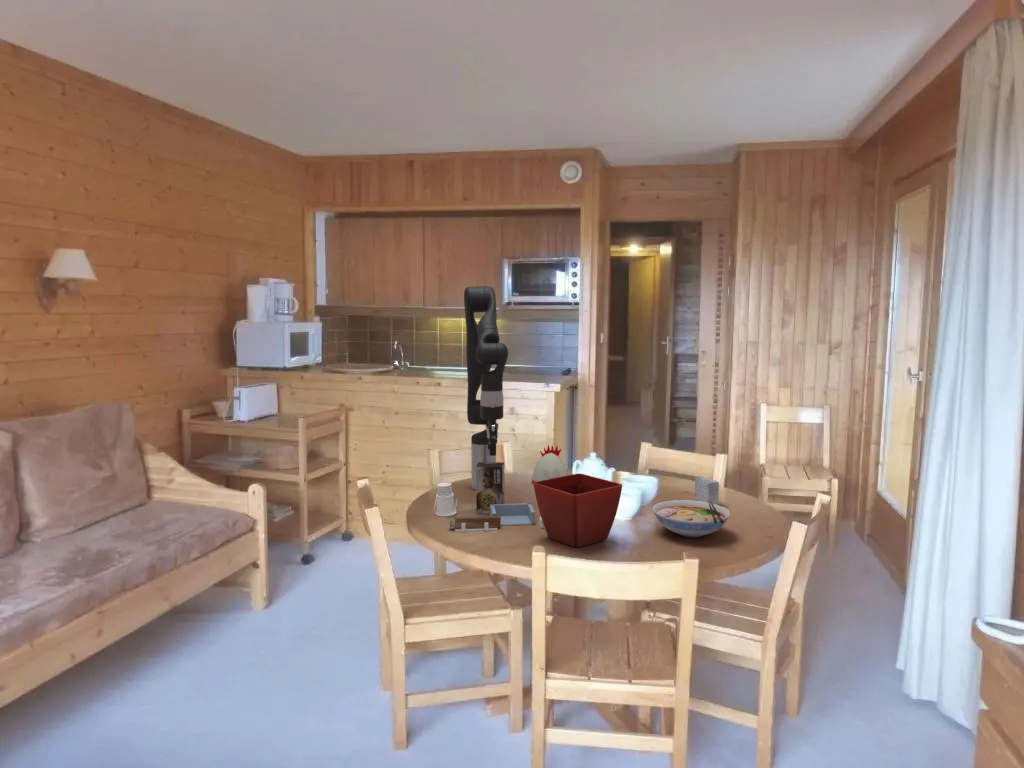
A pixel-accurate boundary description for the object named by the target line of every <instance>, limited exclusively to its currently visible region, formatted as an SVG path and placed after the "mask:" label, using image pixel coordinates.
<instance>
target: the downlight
mask: <svg viewBox="0 0 1024 768" xmlns="http://www.w3.org/2000/svg"><path fill="white" fill-rule="evenodd" d="M452 488H453V486H452V483H451V482H440V483H437V493H436V495H435V499H434V500H435V501H434V504H433V505H434V506H433V512H434V515H435V516H438V517H451V516H454V515H456V514H457V510H456V509H457V504H458V498H457V497H455V495H454V494H455V493H454V492H453V491H452ZM435 508H436V509H435Z"/></svg>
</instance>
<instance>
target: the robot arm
mask: <svg viewBox="0 0 1024 768" xmlns="http://www.w3.org/2000/svg"><path fill="white" fill-rule="evenodd" d="M496 299H497V298H496V292H495V289H494V288H493V287H492V286H490V285H488V286H487V285H481V286H479V285H478V286H466V287H465V289H464V291H463V303H464V305H463V307H464V316H465V328H466V339H465V340H466V347H465V348H466V353H465V354H466V370H467V371H466V373H467V374H466V375H467V405H466V409H467V411H466V416H467V422H468V423H469V424H470V425H479V426H481V425H483V426H484V425H485V429H483V430H482V431H480V432H476V433H474V434H472V435H471V436H470V437H471V439H470V440H471V441H470V444H471V448H470V450H471V453H470V454H471V456H470V457H471V479H470V480H471V489H472V490H475V491H476V466H477V464H478V462H497V444H498V438H499V432H498V431H499V423H497V420H501V419H503V418H504V390H503V389H504V387H503V382H504V381H503V379H504V378H503V377H504V371H505V367H506V365H507V361H508V357H509V349H508V345H506V344H505V343H504V342H500V335H499V329H498V325H497V320H498V319H497V317H498V316H497V300H496ZM475 313H484V315H483V316H482V317H480V319H479V321H478V322H477V321H476V319H475ZM492 365H493V366H495V365H496V367H495V368H494V369H492V370H491V368H492ZM479 389H480V399H477V394H478V391H479Z"/></svg>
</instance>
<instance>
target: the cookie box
mask: <svg viewBox="0 0 1024 768" xmlns="http://www.w3.org/2000/svg"><path fill="white" fill-rule="evenodd" d="M505 488H506V487H505V462H503V461H502V462H498V461H496V462H478V464H477V466H476V490H475V494H476V495H475V498H476V499H475V500H476V501H475V503H476V506H475V507H476V508H475V509H476V510H475V511H476V512H475V513H476V514H481V515H482V514H488V515H490V504H506V502H505V501H506V497H505V496H506V494H505V493H506V492H505Z"/></svg>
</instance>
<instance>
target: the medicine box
mask: <svg viewBox="0 0 1024 768" xmlns="http://www.w3.org/2000/svg"><path fill="white" fill-rule="evenodd" d="M694 480H695V481H694V501H701V502H707V503H708V501H709V503H711V502H712V504H716V505H719V499H720V498H719V489H720V488H719V487H720V483H719V481H717V480H715V479H712V478H709V477H707V476H702V477H700V476H699V477H696V478H694ZM707 499H708V500H707ZM709 499H710V500H709ZM710 501H711V502H710Z"/></svg>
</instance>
